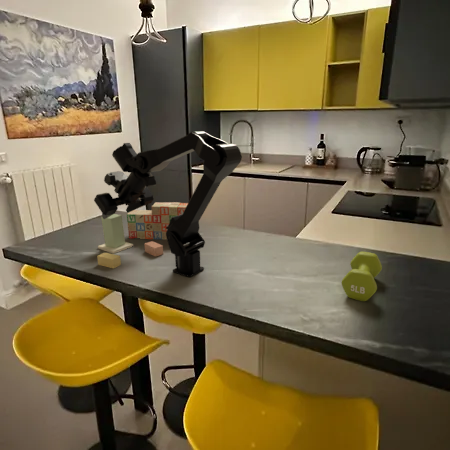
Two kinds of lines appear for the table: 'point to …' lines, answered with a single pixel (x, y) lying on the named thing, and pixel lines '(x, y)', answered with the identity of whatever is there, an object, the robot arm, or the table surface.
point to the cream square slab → (115, 250)
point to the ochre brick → (109, 260)
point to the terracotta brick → (153, 248)
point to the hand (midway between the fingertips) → (115, 214)
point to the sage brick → (113, 231)
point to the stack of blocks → (153, 220)
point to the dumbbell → (362, 276)
